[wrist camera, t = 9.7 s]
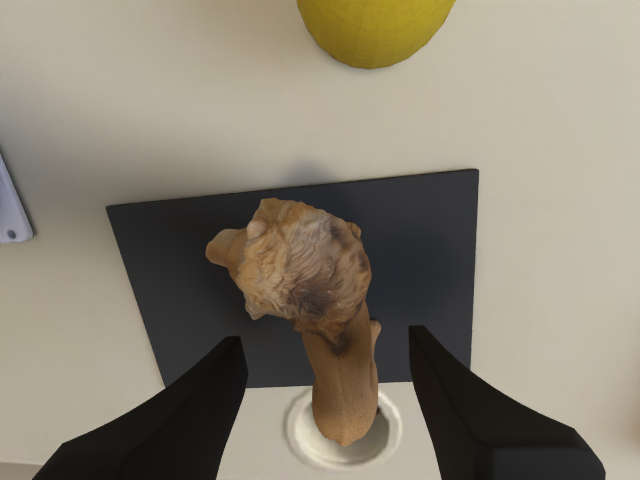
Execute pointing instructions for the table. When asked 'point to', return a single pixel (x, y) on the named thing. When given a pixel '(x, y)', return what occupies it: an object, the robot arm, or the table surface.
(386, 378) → the desk mat
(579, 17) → the table surface
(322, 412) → the lion figurine
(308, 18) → the lemon
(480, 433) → the robot arm
